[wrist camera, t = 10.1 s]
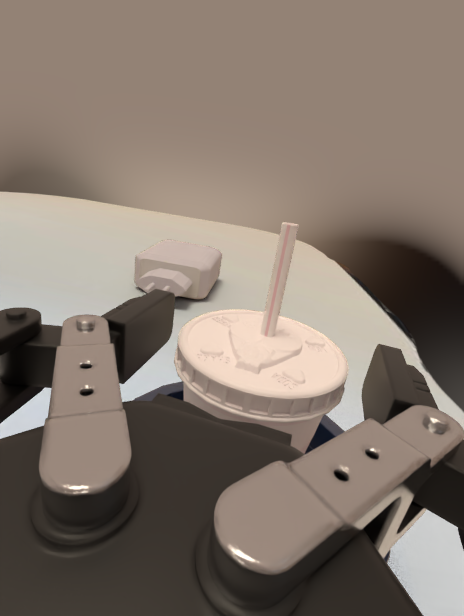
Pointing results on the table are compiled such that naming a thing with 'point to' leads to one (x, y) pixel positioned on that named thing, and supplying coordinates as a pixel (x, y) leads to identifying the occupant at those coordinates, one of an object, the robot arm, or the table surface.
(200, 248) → the charger
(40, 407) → the table surface
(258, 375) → the smoothie
